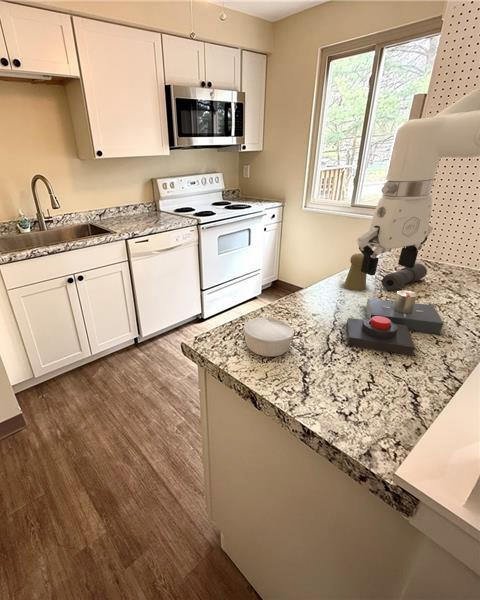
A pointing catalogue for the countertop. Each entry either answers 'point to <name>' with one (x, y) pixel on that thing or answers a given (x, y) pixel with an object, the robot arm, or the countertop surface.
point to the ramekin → (268, 336)
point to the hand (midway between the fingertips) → (386, 269)
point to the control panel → (407, 315)
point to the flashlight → (404, 276)
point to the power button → (380, 322)
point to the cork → (356, 274)
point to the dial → (404, 301)
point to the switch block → (379, 336)
